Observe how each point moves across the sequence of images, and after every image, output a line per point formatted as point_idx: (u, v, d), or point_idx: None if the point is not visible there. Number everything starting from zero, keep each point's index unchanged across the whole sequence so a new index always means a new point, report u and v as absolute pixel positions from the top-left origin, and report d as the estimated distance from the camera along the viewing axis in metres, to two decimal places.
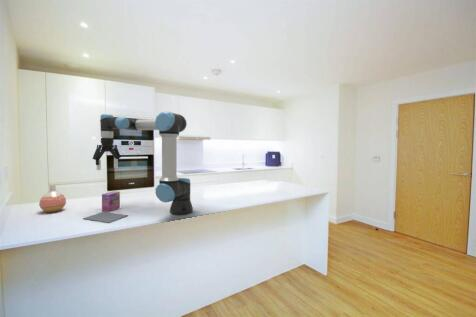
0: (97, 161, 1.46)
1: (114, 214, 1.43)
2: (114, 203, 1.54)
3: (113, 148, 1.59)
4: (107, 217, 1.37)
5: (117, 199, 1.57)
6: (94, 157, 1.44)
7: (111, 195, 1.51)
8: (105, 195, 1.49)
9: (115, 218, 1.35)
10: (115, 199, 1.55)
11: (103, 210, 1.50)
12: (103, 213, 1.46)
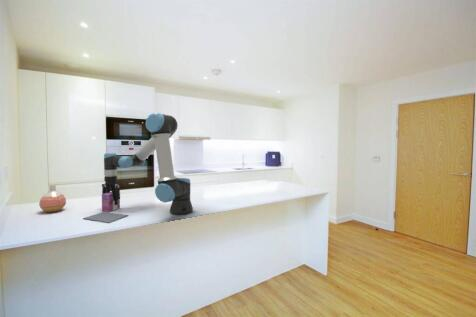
0: None
1: (114, 214, 1.43)
2: None
3: None
4: (107, 217, 1.37)
5: None
6: None
7: (111, 195, 1.51)
8: (105, 195, 1.49)
9: (115, 218, 1.35)
10: None
11: (103, 210, 1.50)
12: (103, 213, 1.46)
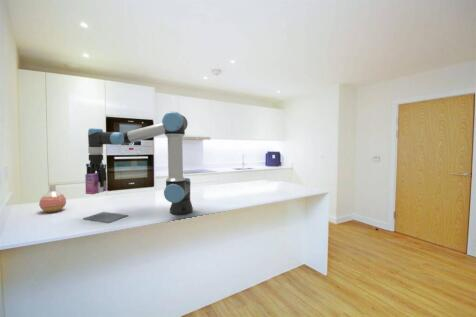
0: None
1: (114, 214, 1.43)
2: None
3: None
4: (107, 217, 1.37)
5: (104, 181, 1.41)
6: None
7: (96, 175, 1.34)
8: (89, 175, 1.33)
9: (115, 218, 1.35)
10: None
11: (87, 192, 1.34)
12: (103, 213, 1.46)
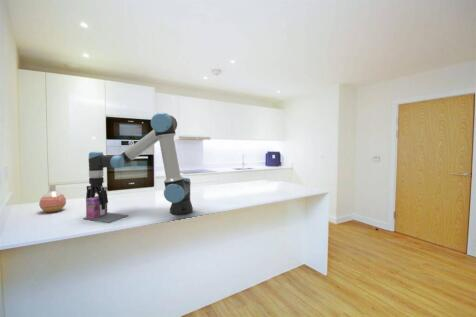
0: None
1: (114, 214, 1.43)
2: None
3: None
4: (107, 217, 1.37)
5: None
6: None
7: (96, 200, 1.35)
8: (90, 200, 1.34)
9: (115, 218, 1.35)
10: None
11: (87, 216, 1.35)
12: None
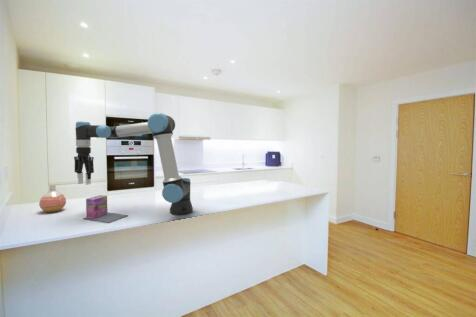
0: (77, 174, 1.42)
1: (114, 214, 1.43)
2: (100, 209, 1.38)
3: None
4: (107, 217, 1.37)
5: (104, 204, 1.41)
6: None
7: (96, 200, 1.35)
8: (90, 200, 1.34)
9: (115, 218, 1.35)
10: (102, 204, 1.39)
11: (87, 216, 1.35)
12: None
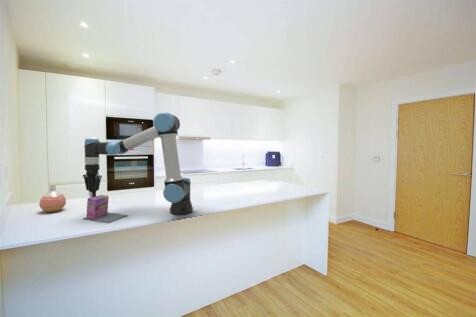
0: (89, 192, 1.40)
1: (114, 214, 1.43)
2: (101, 209, 1.38)
3: None
4: (107, 217, 1.37)
5: (105, 204, 1.41)
6: None
7: (98, 200, 1.35)
8: (91, 200, 1.33)
9: (115, 218, 1.35)
10: (103, 204, 1.39)
11: (88, 216, 1.35)
12: None
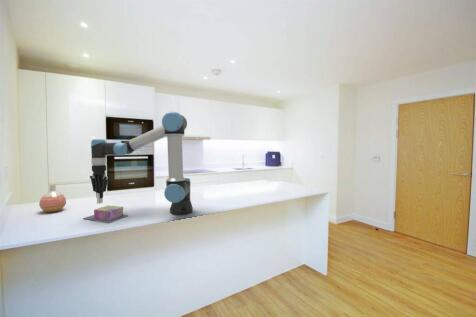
0: (96, 194, 1.38)
1: None
2: None
3: None
4: None
5: None
6: None
7: None
8: (109, 216, 1.31)
9: None
10: None
11: (94, 211, 1.33)
12: None
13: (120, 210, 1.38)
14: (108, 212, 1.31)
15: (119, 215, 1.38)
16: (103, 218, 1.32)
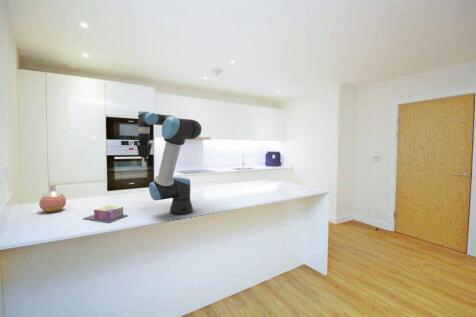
0: (141, 158, 1.63)
1: None
2: None
3: None
4: None
5: None
6: None
7: None
8: (109, 216, 1.31)
9: None
10: None
11: (94, 211, 1.33)
12: None
13: (120, 210, 1.38)
14: (108, 212, 1.31)
15: (119, 215, 1.38)
16: (103, 218, 1.32)
